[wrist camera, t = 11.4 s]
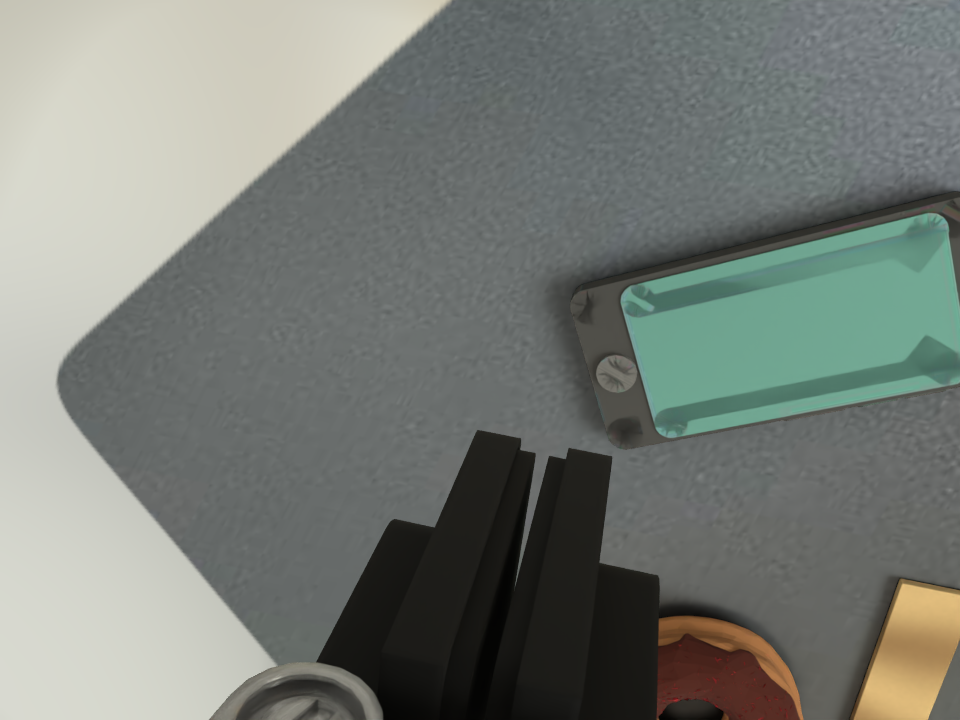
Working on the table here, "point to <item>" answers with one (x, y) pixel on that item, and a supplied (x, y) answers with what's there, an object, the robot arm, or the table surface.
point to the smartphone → (778, 326)
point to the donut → (723, 670)
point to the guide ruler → (911, 654)
